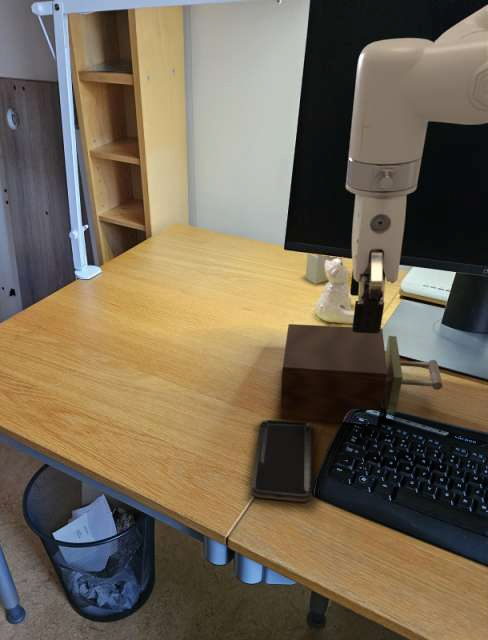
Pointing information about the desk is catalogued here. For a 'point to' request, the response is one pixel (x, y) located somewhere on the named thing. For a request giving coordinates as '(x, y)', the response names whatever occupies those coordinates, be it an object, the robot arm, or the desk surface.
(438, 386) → the drawer
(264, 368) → the desk surface
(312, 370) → the cabinet
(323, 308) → the sitting furry creature
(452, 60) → the robot arm
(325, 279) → the cream upright block
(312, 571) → the desk surface
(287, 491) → the phone
